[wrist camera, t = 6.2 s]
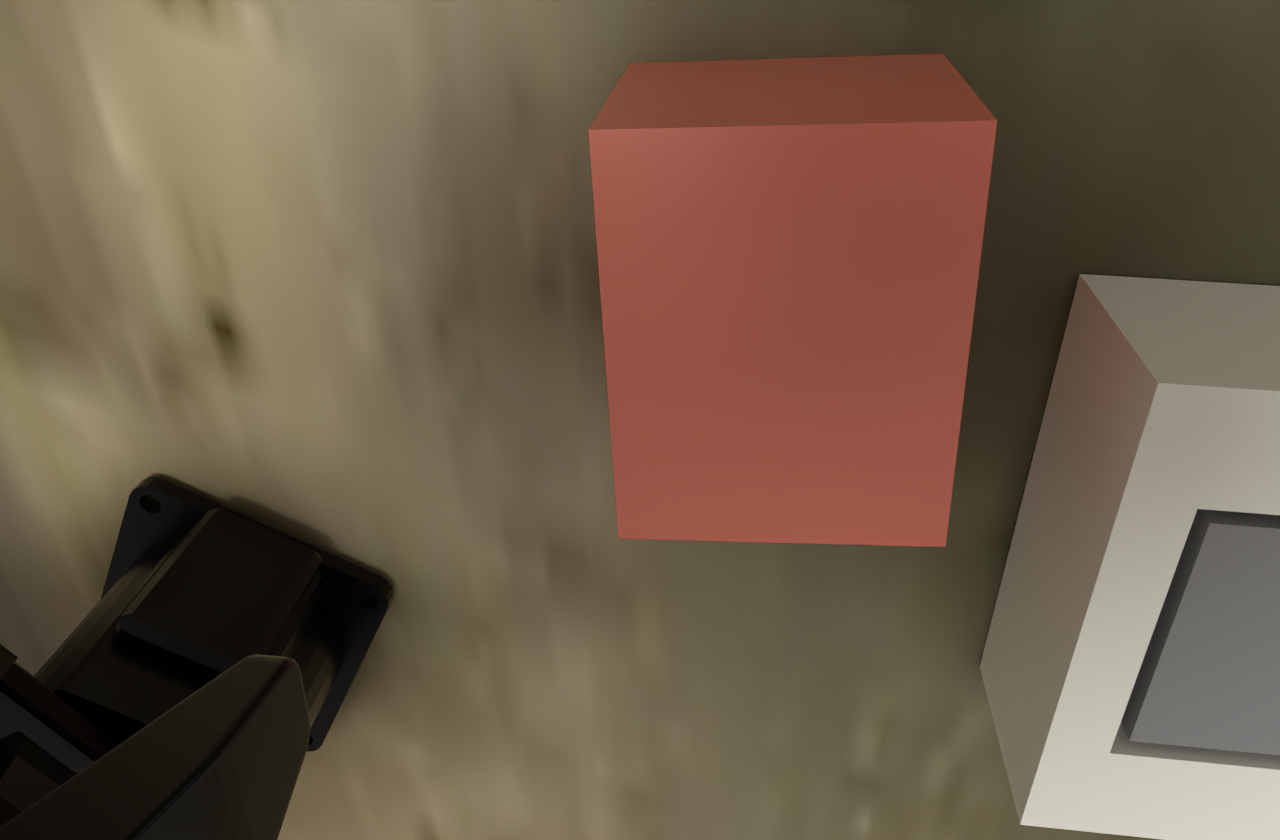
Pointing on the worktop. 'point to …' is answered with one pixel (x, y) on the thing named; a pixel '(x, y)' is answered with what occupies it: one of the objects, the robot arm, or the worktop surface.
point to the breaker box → (1131, 553)
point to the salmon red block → (789, 294)
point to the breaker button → (1216, 642)
